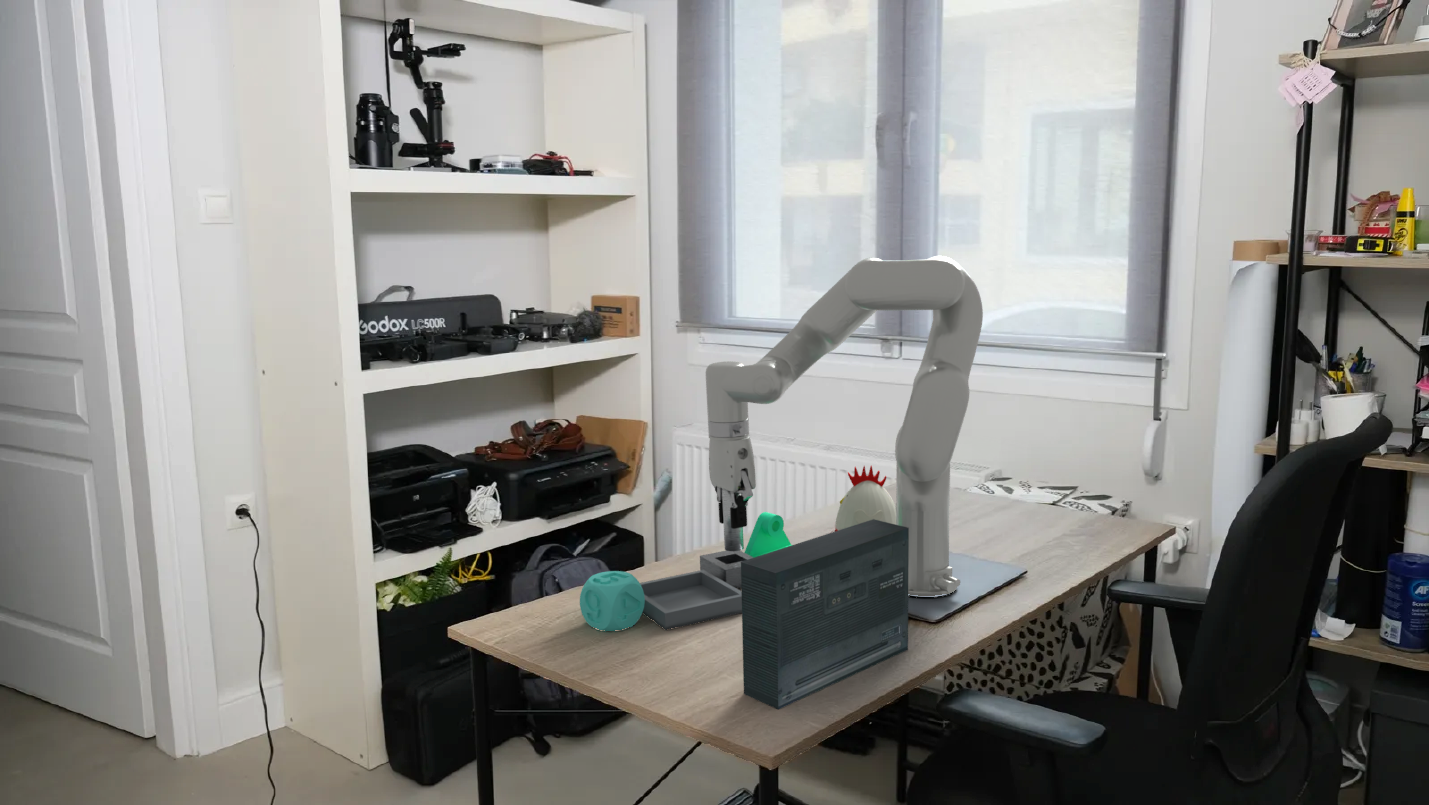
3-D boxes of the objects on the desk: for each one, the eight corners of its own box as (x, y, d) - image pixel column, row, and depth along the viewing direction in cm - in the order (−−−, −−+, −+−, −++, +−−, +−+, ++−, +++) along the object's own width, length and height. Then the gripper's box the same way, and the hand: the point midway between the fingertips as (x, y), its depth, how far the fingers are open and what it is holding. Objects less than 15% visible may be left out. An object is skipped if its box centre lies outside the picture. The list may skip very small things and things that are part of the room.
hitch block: (763, 582, 201) (763, 562, 200) (726, 590, 197) (725, 570, 196) (736, 568, 210) (735, 548, 209) (700, 575, 206) (699, 555, 205)
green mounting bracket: (770, 578, 204) (769, 526, 202) (743, 569, 209) (741, 518, 208) (813, 563, 212) (813, 513, 210) (785, 555, 217) (785, 506, 216)
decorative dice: (646, 621, 183) (644, 576, 182) (612, 636, 177) (610, 589, 176) (613, 611, 189) (611, 567, 187) (579, 625, 183) (577, 580, 181)
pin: (747, 548, 201) (744, 480, 199) (730, 552, 200) (727, 483, 198) (737, 544, 204) (734, 477, 202) (721, 547, 203) (718, 479, 201)
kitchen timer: (834, 524, 237) (834, 458, 235) (897, 524, 236) (898, 458, 233) (835, 543, 224) (835, 473, 221) (902, 544, 222) (903, 473, 220)
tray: (747, 611, 187) (747, 594, 186) (665, 630, 179) (665, 613, 178) (703, 585, 200) (703, 569, 200) (625, 601, 193) (625, 586, 192)
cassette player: (873, 638, 174) (873, 519, 170) (907, 650, 169) (908, 527, 165) (743, 694, 155) (740, 561, 151) (778, 710, 150) (776, 573, 146)
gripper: (769, 432, 193) (773, 531, 196) (723, 420, 207) (728, 512, 210) (733, 438, 189) (738, 538, 192) (689, 425, 204) (694, 518, 207)
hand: (733, 523), depth 201 cm, fingers closed on pin, 3 cm apart
